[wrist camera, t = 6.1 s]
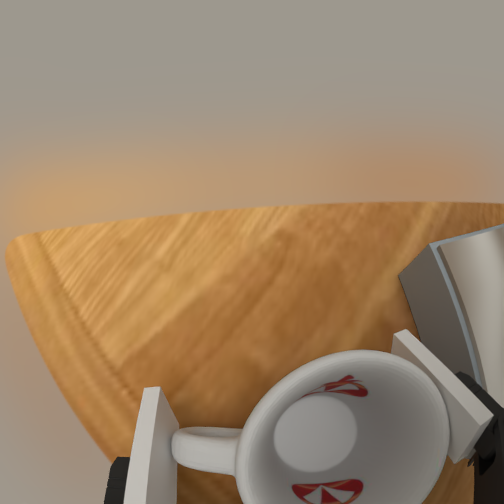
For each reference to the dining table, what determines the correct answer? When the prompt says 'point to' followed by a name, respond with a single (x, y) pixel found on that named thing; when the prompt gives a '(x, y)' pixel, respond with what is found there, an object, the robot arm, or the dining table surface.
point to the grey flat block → (462, 305)
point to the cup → (332, 435)
